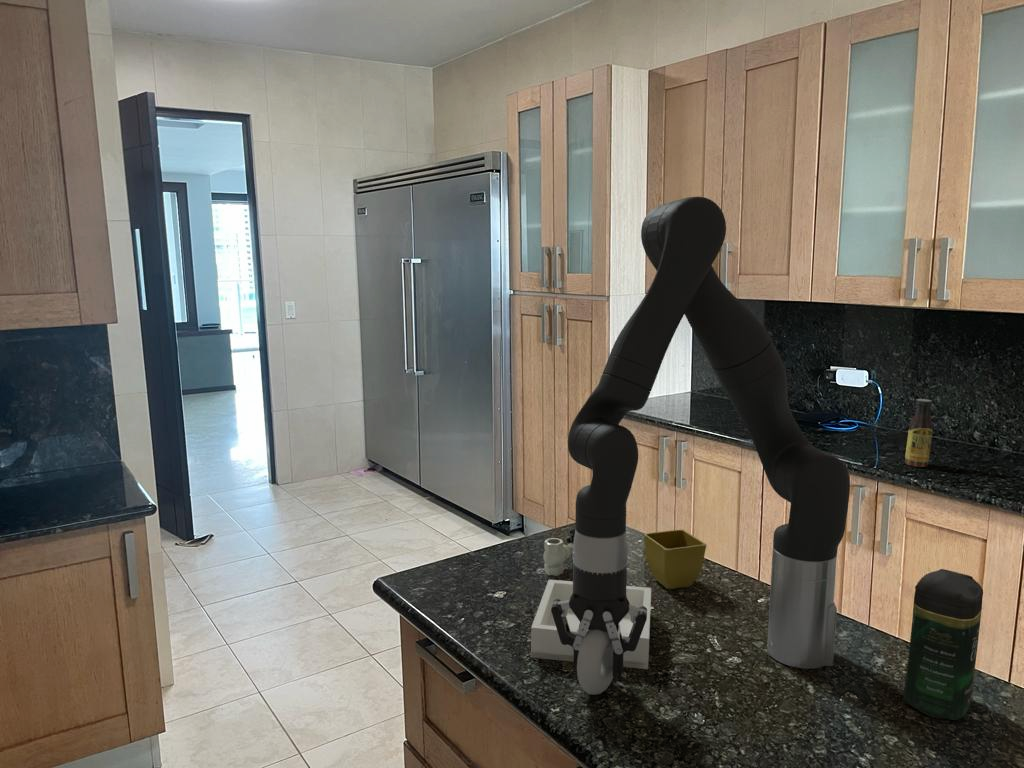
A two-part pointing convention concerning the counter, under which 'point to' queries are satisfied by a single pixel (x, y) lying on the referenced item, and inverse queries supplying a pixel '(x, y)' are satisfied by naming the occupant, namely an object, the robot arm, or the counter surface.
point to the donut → (595, 662)
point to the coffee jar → (943, 644)
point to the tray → (549, 643)
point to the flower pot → (674, 557)
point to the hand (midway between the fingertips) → (597, 672)
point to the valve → (557, 554)
